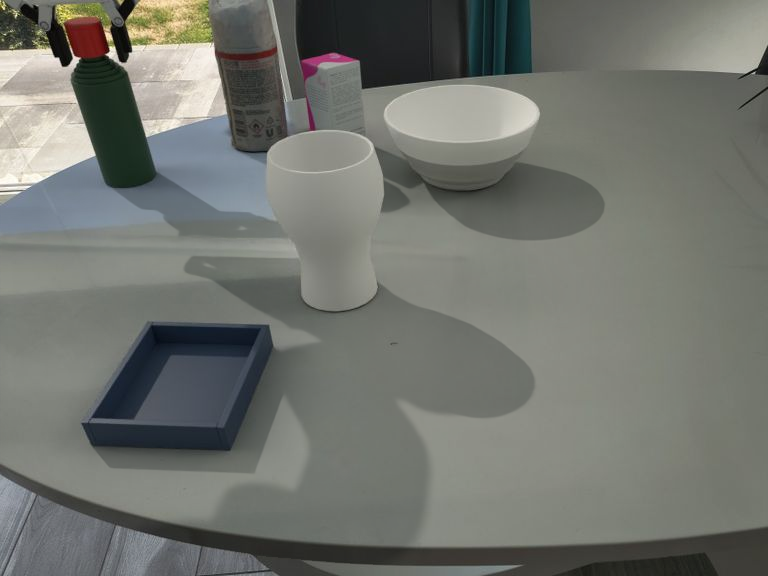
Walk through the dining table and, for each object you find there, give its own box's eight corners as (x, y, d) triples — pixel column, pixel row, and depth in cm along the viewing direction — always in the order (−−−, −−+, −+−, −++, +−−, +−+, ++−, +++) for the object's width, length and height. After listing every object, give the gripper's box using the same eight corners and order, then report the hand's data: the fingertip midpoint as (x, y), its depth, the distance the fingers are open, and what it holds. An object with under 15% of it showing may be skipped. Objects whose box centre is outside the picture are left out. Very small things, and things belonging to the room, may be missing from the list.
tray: (90, 445, 58) (80, 422, 56) (154, 342, 68) (147, 320, 66) (230, 450, 57) (224, 427, 56) (273, 346, 68) (269, 324, 66)
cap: (117, 51, 86) (107, 19, 84) (87, 60, 84) (77, 28, 81) (96, 46, 88) (87, 14, 86) (66, 54, 85) (56, 22, 83)
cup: (375, 326, 70) (360, 180, 60) (270, 314, 71) (240, 171, 62) (403, 267, 78) (393, 131, 69) (308, 258, 80) (286, 124, 70)
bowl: (558, 159, 99) (563, 98, 94) (496, 221, 86) (498, 154, 81) (434, 133, 106) (432, 76, 101) (358, 187, 93) (352, 124, 88)
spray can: (301, 133, 107) (279, -17, 94) (277, 156, 100) (250, -2, 88) (248, 128, 108) (219, -21, 96) (221, 150, 102) (186, -5, 89)
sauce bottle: (95, 187, 93) (42, 34, 82) (117, 165, 98) (70, 19, 87) (145, 188, 93) (98, 35, 81) (163, 166, 98) (122, 20, 86)
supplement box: (368, 142, 104) (361, 59, 97) (334, 155, 101) (324, 70, 93) (343, 131, 107) (334, 50, 100) (309, 143, 104) (298, 60, 97)
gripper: (-64, -112, 71) (9, 77, 82) (123, -118, 74) (169, 66, 85) (-41, -122, 76) (25, 57, 88) (133, -126, 79) (175, 47, 91)
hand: (96, 59), depth 86 cm, fingers open, 5 cm apart
